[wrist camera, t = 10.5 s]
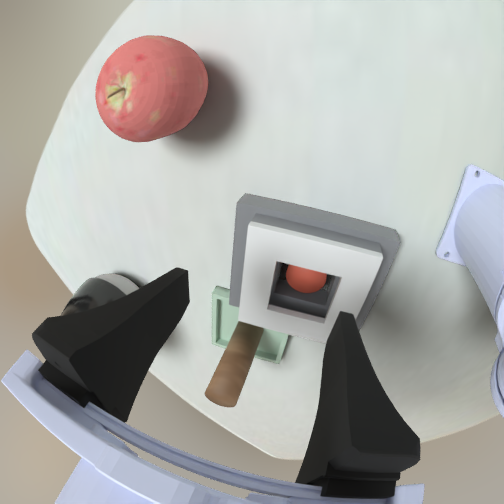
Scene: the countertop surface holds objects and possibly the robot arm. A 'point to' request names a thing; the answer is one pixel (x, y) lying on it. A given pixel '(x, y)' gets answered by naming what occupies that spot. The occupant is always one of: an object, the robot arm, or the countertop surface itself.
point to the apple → (150, 88)
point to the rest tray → (227, 322)
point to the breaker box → (305, 265)
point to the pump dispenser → (99, 292)
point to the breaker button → (305, 279)
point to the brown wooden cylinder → (234, 365)
